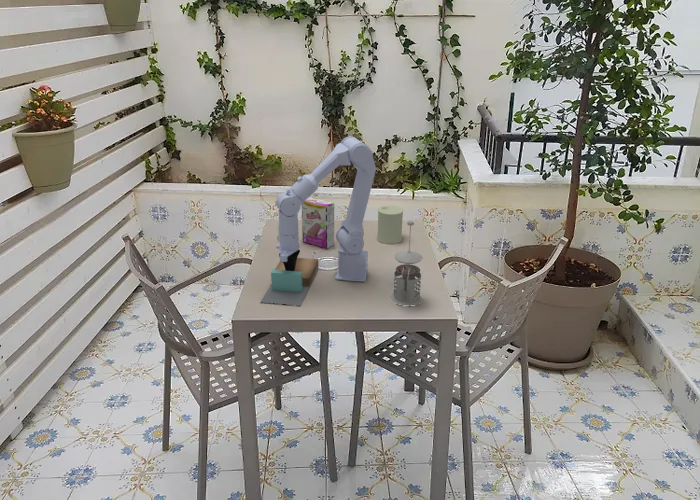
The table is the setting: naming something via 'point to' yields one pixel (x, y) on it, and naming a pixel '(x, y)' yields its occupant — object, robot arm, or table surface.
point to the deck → (304, 269)
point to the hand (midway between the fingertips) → (290, 273)
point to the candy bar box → (318, 222)
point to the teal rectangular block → (286, 280)
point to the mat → (284, 296)
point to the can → (390, 224)
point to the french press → (407, 277)
